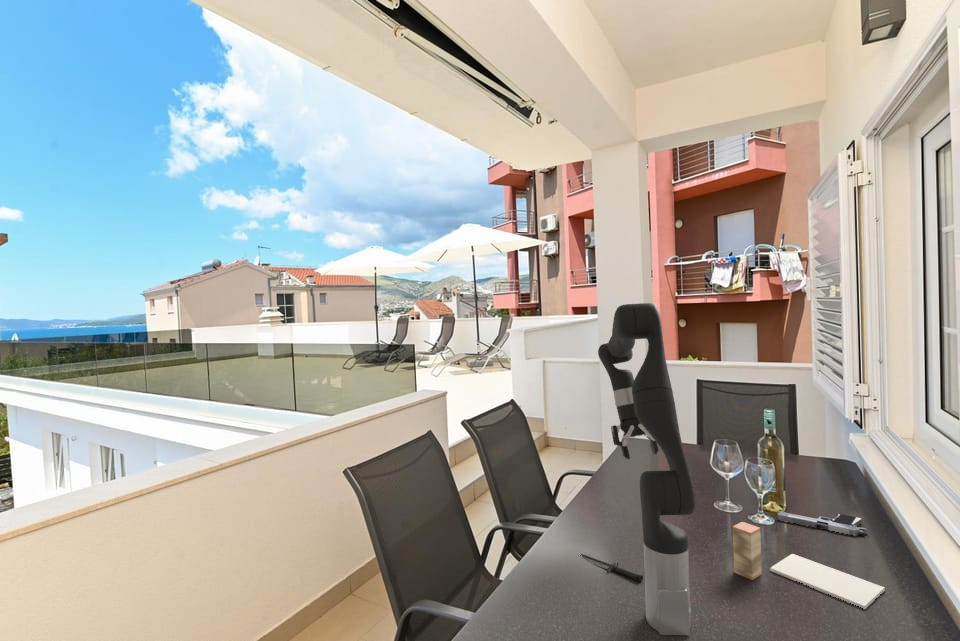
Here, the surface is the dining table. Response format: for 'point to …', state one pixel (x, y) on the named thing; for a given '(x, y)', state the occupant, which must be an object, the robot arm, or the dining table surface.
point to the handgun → (827, 523)
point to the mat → (828, 580)
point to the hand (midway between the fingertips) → (641, 456)
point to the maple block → (747, 550)
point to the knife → (612, 568)
